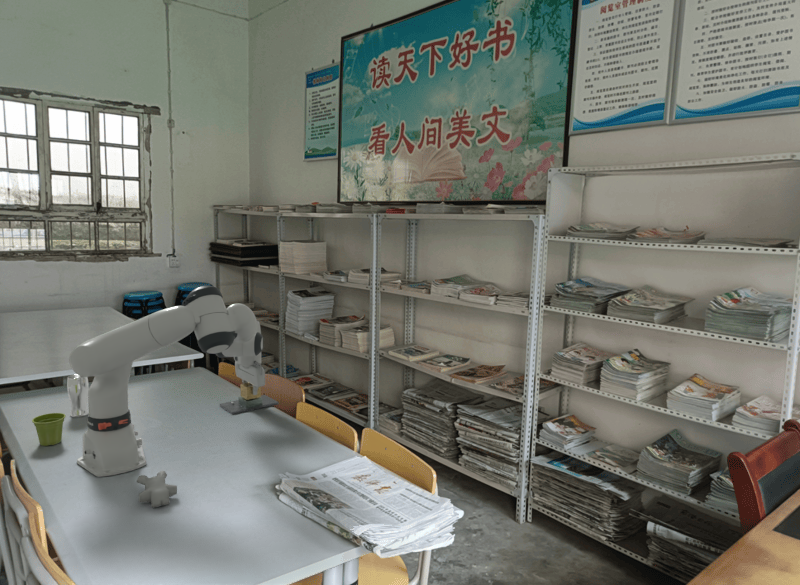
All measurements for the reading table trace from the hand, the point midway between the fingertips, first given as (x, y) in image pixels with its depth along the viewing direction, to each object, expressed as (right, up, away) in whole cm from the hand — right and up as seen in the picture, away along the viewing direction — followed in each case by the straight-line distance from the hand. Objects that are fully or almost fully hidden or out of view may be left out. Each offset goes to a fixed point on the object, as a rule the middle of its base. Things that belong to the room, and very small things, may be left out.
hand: (250, 392), depth 225 cm
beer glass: (-62, -6, -13) cm, 63 cm away
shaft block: (0, -6, +1) cm, 6 cm away
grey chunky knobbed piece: (-6, -16, -74) cm, 75 cm away
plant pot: (-56, -10, -40) cm, 69 cm away
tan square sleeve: (0, -2, 0) cm, 2 cm away
